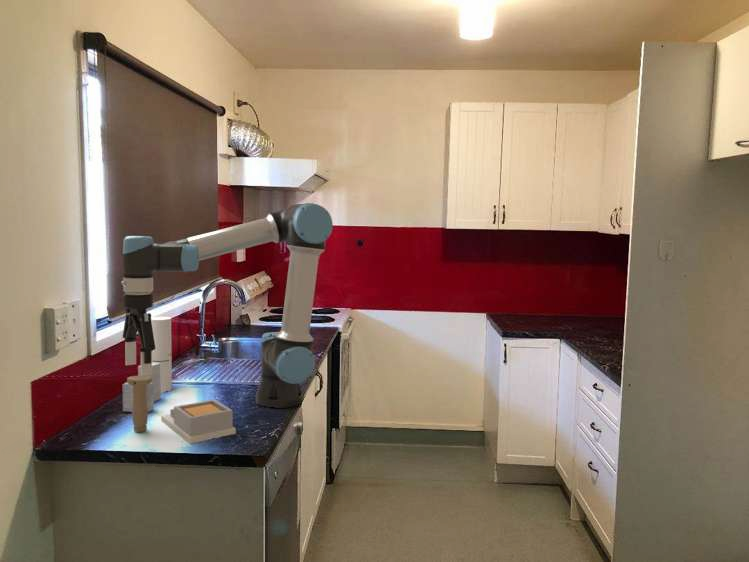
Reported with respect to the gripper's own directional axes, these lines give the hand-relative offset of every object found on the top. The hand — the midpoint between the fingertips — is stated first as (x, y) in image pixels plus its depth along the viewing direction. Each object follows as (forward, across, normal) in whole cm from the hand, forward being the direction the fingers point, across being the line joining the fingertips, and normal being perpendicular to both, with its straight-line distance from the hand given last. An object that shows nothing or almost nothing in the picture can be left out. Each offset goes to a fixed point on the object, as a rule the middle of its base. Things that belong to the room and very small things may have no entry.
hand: (138, 369), depth 161 cm
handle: (+18, 0, 0) cm, 18 cm away
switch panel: (+17, +6, +14) cm, 23 cm away
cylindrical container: (+17, -36, +18) cm, 44 cm away
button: (+14, +10, +14) cm, 22 cm away
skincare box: (+18, -26, +11) cm, 33 cm away
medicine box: (+18, -18, +6) cm, 26 cm away
